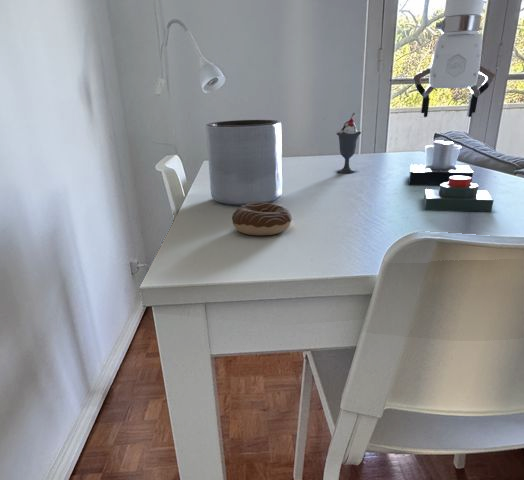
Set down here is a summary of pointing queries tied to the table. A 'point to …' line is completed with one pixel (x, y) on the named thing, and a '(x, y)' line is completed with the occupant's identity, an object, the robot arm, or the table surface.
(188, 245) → the table surface
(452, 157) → the candle
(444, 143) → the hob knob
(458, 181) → the button
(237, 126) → the planter
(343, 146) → the sundae
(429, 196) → the box
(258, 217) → the donut
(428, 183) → the block
